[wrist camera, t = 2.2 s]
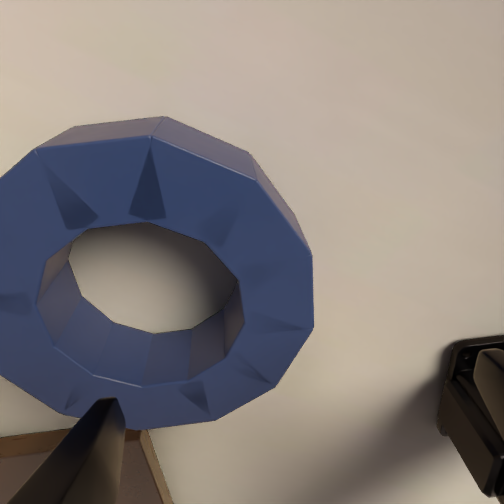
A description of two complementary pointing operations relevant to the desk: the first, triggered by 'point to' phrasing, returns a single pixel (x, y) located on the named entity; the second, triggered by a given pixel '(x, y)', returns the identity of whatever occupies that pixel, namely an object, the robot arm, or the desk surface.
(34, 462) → the post
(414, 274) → the desk surface
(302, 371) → the desk surface
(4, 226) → the ring
